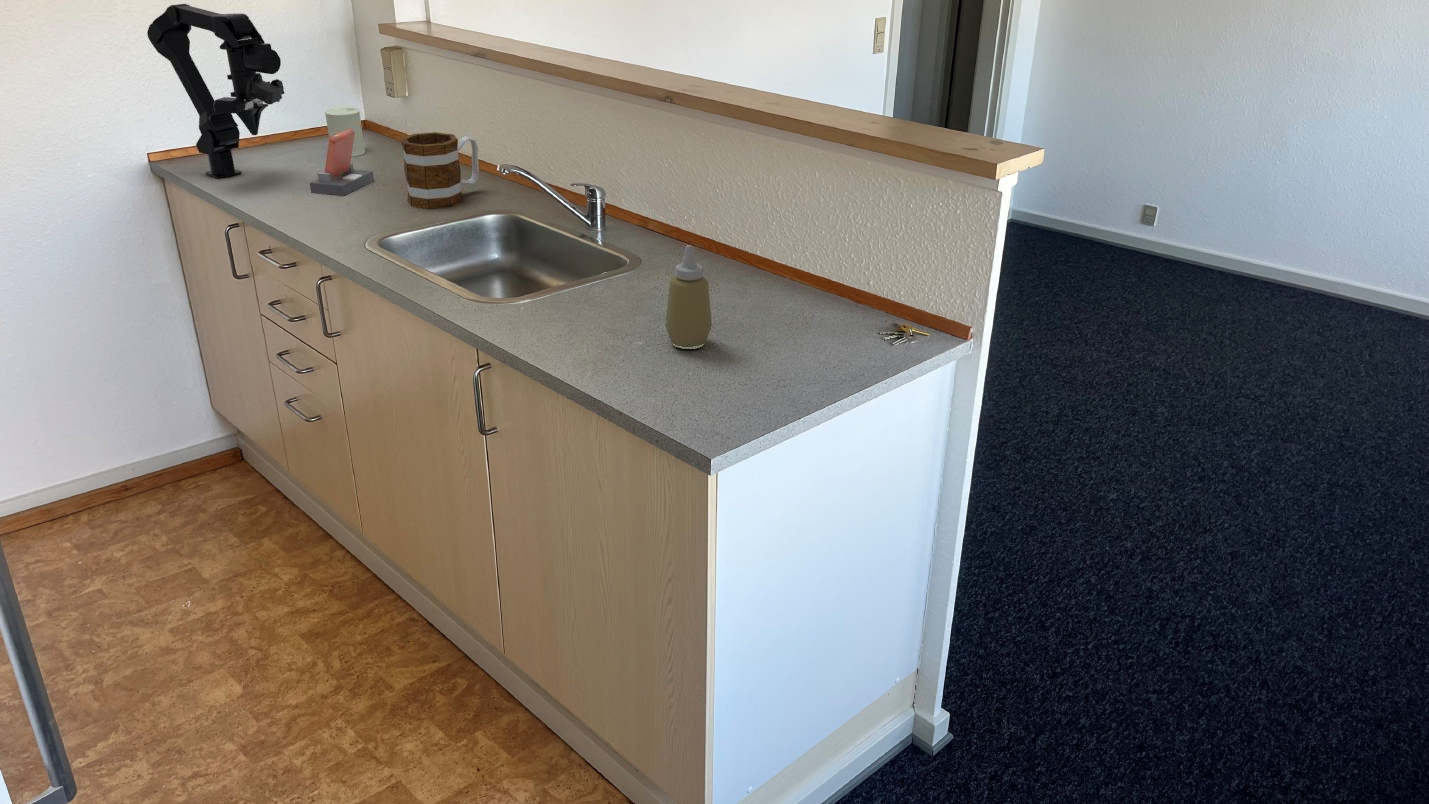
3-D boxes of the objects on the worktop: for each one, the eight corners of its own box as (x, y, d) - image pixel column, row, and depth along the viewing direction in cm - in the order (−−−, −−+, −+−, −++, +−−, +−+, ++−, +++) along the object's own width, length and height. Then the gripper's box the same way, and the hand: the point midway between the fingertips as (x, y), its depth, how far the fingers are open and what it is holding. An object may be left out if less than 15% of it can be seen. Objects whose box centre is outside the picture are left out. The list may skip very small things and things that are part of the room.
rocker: (324, 175, 260) (329, 135, 255) (342, 167, 267) (347, 127, 262) (331, 179, 260) (337, 138, 255) (349, 170, 267) (355, 130, 262)
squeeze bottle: (664, 335, 188) (664, 238, 180) (709, 334, 189) (711, 238, 180) (666, 354, 181) (666, 254, 173) (713, 353, 182) (715, 254, 173)
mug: (426, 213, 248) (419, 149, 241) (396, 200, 256) (388, 138, 249) (496, 196, 260) (491, 135, 253) (465, 185, 268) (460, 125, 261)
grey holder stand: (311, 192, 260) (308, 174, 258) (342, 177, 272) (340, 160, 270) (343, 195, 258) (341, 177, 256) (374, 180, 270) (371, 163, 268)
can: (372, 152, 295) (366, 108, 289) (346, 159, 288) (339, 114, 282) (350, 147, 299) (344, 104, 294) (323, 153, 292) (316, 110, 287)
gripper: (247, 79, 244) (259, 146, 251) (295, 65, 260) (305, 129, 267) (205, 75, 247) (219, 142, 254) (256, 62, 263) (267, 125, 270)
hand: (254, 134), depth 261 cm, fingers closed
